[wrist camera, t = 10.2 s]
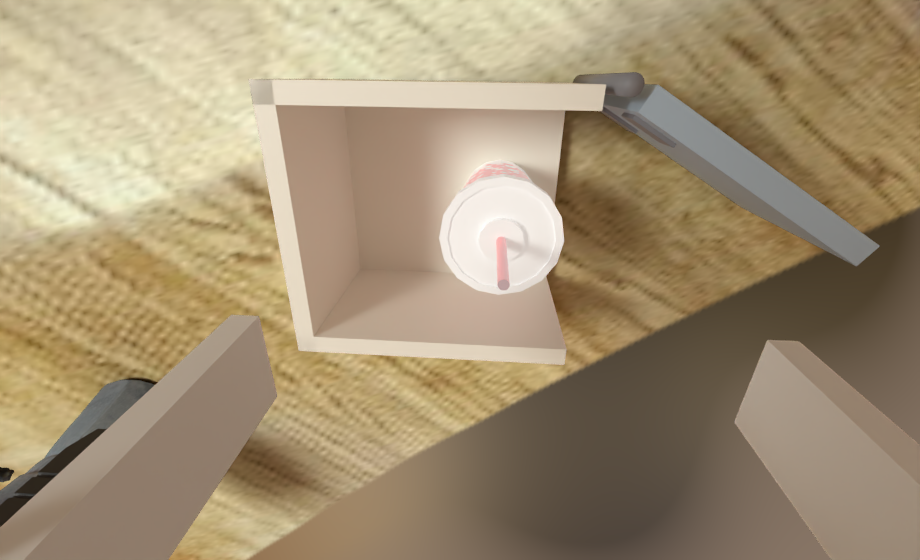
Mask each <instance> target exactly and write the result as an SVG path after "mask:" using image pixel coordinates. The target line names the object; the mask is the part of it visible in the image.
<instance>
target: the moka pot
mask: <svg viewBox="0 0 920 560" xmlns="http://www.w3.org/2000/svg"><path fill="white" fill-rule="evenodd" d="M153 386H154V384H151V383H147V382H144V381H141V380H119V381H116V382H113V383H110V384H107V385H105V386H104V387H103V388H102V389H101V390H100V392H99V393H98V394H97V395H96V396H95V397H94V399H93V400H92V401H91V402H90V403H89V405H88V406H87V407H86V408H85V409H84V410H83V412H82V413H81V414H80V415H79V417H78V418H77V419H76V420H75V421H74V422H73V423H72V424H71V425H70V426H69V428H68V429H67V430H66V431H65V432H64V434H63V435H62V436H61V437H60V438H59V439H58V441H57V442H56V443H55V444H54V446H53V447H52V448H51V449H50V451H49V452H48V454H47V455H46V457H45V458H44V459H42V460H41V461H40V462H38V463H37V464H36V465H35V466H33V467H32V468H31V469H30V470H29V471H28V472H27V473H25V474H23V475H20V476H19V477H17V478H16V479H15V480H14V481H12V482H11V483H10V484H8V485H7V486H6V487H4V488H3V489H2V490H0V505H1V504H2V503H3V502H4V501H5V500H7V499H8V498H12V497H13V496H14V495H15V492H16V491H17V490H18V489H19V488H20V487H21V486H23V485H24V484H25V483H26V482H27V481H28V480H29V479H31V478H32V477H36V476H37V475H38V472H39V471H40V470H41V469H42V468H43V467H44V466H45V465H47V464H48V463H49V462H50V461H51V460H52V459H53V458H55V457H56V456H57V455H58V454H59V453H60V452H61V451H63V450H64V449H65V448H66V447H68V446H70V445H71V444H73V443H75V442H76V441H78V440H80V439H81V438H83V437H85V436H86V435H88V434H90V433H91V432H93V431H95V430H96V429H108V428H109V427H110V426H111V425H112V424H113V423H114V422H115V421H116V420H117V419H119V418H120V417H121V416H122V415H123V414H124V413H125V412H126V411H127V410H128V409H129V408H131V407H132V406H133V405H134V404H135V403H136V402H137V401H138V400H139V399H140V398H141V397H142V396H144V395H145V394H146V393H147V392H148V391H149V390H150V389H151V388H152V387H153ZM13 473H14V470H10V469H9V468H1V467H0V482H4V481H8V480H10V478H11V476H12V474H13Z"/></svg>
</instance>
